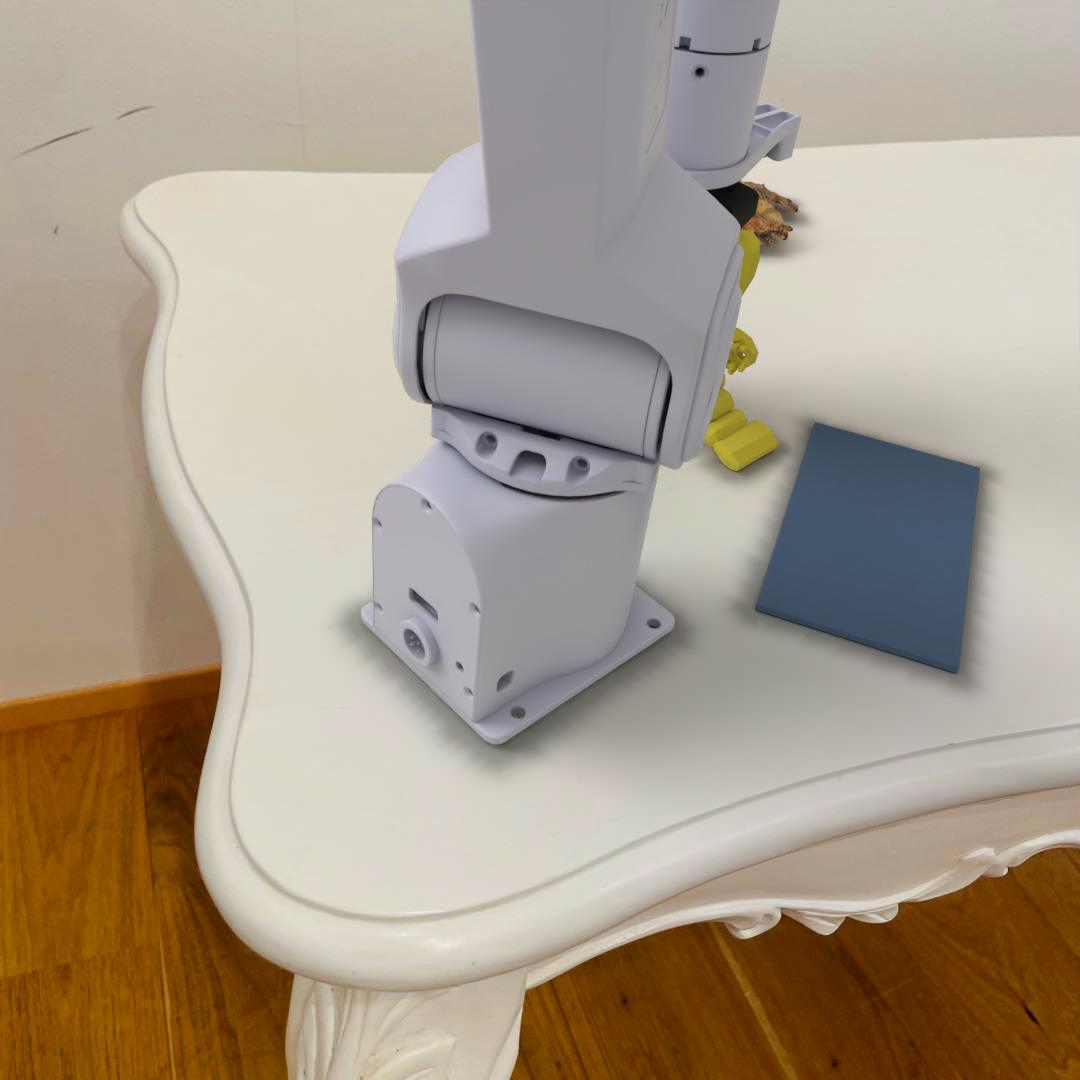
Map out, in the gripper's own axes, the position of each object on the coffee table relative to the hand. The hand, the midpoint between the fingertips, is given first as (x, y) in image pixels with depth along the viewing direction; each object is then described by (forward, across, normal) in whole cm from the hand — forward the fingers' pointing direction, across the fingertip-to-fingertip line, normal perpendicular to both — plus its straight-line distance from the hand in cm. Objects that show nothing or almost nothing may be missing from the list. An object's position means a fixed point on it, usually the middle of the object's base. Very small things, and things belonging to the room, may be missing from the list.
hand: (644, 332), depth 52 cm
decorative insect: (+4, -1, +1) cm, 4 cm away
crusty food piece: (+4, -20, -11) cm, 23 cm away
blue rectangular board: (+4, -1, +14) cm, 14 cm away
